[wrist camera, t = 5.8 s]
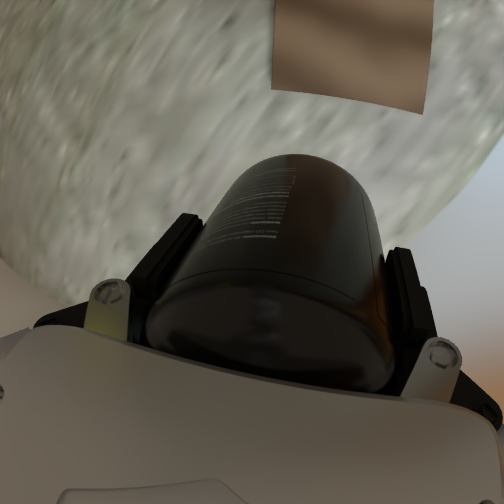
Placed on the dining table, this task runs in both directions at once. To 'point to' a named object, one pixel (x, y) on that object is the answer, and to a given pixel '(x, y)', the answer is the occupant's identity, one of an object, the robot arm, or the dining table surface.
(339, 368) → the supplement bottle
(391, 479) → the robot arm
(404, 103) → the walnut board
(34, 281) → the dining table surface
